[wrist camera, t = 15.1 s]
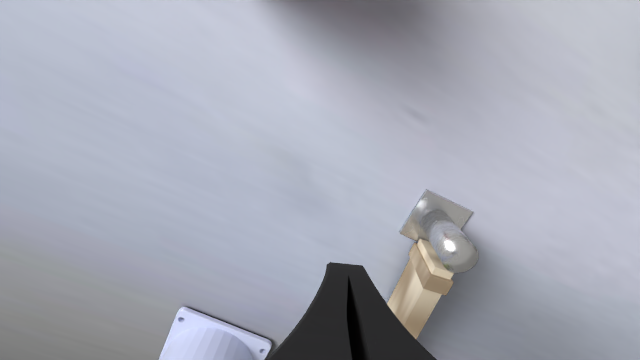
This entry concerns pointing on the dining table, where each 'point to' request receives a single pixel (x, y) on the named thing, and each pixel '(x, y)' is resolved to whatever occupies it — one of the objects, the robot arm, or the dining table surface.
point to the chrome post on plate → (442, 231)
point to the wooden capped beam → (419, 287)
